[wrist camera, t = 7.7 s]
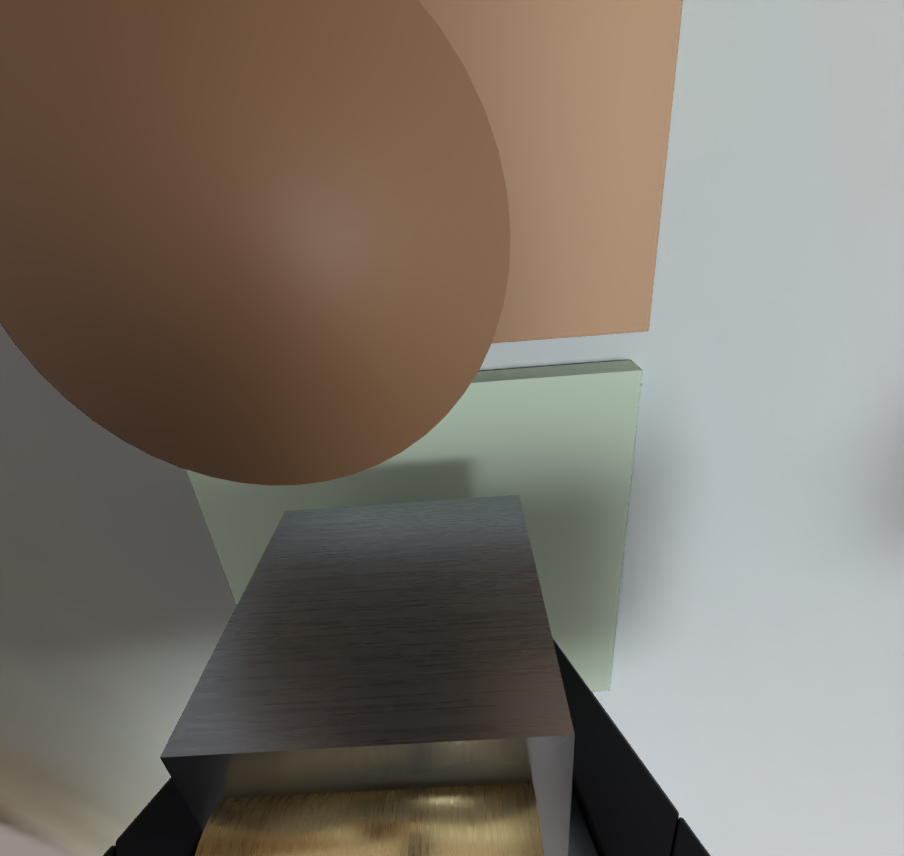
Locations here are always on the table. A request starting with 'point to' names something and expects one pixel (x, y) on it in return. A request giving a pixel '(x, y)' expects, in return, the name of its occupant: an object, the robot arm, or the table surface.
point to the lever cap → (383, 693)
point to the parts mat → (494, 489)
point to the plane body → (319, 209)
